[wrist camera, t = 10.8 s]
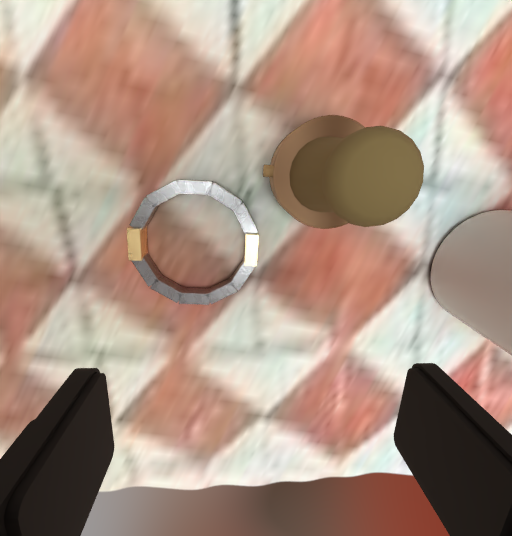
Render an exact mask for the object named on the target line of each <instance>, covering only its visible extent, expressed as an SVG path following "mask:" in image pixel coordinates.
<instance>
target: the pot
mask: <svg viewBox="0 0 512 536" xmlns="http://www.w3.org/2000/svg"><path fill="white" fill-rule="evenodd" d="M363 128H365V127H364V126H363V125H361V124H360V123H358V122H357V121H355V120H353V119H350V118H347V117H344V116H338V115H328V116H321V117H318V118H314V119H312V120H310V121H308V122H306V123H304V124H303V125H301V126H300V127H298V128H297V129H296V130H294V131H293V132H291V133H290V134H289V135H288V136H286V137H285V138H284V139H283V141H282V142H281V143H280V144H279V146H278V147H277V149H276V151H275V152H274V155H273V157H272V161H271V164H270V165H264V168H263V177H269V178H270V185H271V189H272V192H273V194H274V196H275V198H276V200H277V202H278V203H279V204H280V205H281V207H282V208H283V209H284V210H286V211H287V212H288V213H289V214H290V215H291V216H293V217H294V218H295V219H296V220H298V221H299V222H301V223H303V224H305V225H308V226H310V227H314V228H321V229H329V228H336V227H339V226H343V225H345V224H347V223H348V222H347V221H345V220H343V219H342V218H340V217H339V216H337V215H336V214H335V213H334V212H317V211H313V210H310V209H308V208H306V207H305V206H303V205H301V203H300V202H299V201H298V200H297V199H296V197H295V196H294V194H293V191H292V189H291V186H290V175H289V173H290V169H291V165H292V161H293V159H294V158H295V156H296V154H297V153H298V151H299V150H300V149H301V148H302V147H303V146H304V145H305V144H307V143H308V142H310V141H312V140H314V139H316V138H319V137H329V136H331V137H339V138H345V137H346V136H348V135H350V134H352V133H354V132H356V131H358V130H361V129H363Z"/></svg>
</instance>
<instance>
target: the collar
mask: <svg viewBox="0 0 512 536" xmlns="http://www.w3.org/2000/svg"><path fill="white" fill-rule="evenodd" d="M181 193H182V194H198V195H210V196H211V197H213V198H214V199H216V200H217V201H219V202H220V203H222V204H223V205H225V206H226V207H228V208H230V209H231V210H233V211H234V213H235V215H236V217H237V219H238V221H239V223H240V225H241V227H242V229H243V231H244V233H245V254H244V259H243V260H242V262H241V263H240V265H239V266H238V268H237V269H236V271H235V272H234V273H233V275H232V276H231V278H229V279H227V280H225V281H223V282H221V283H219V284H217V285H215V286H213V287H210V288H188V287H182V286H181V285H179V284H177V283H175V282H174V281H172V280H170V279H168V278H167V277H165V276H163V275H161V273H160V271H159V270H158V268H157V267H156V265H155V264H154V262H153V260H152V259H151V257H150V256H149V254H148V248H147V226H148V224H149V222H150V220H151V219H152V217H153V215H154V213H155V212H156V210H157V208H158V206H159V205H160V204H162V203H164V202H165V201H167V200H169V199H171V198H173V197H175V196H177V195H179V194H181ZM258 238H259V235H258V231H257V228H256V226H255V224H254V222H253V220H252V218H251V216H250V214H249V212H248V210H247V208H246V206H245V204H244V202H242V200H241V199H240V198H238V197H237V196H235V195H234V194H232V193H231V192H229V191H228V190H226V189H225V188H223V187H222V186H220V185H219V184H217V183H216V182H214V183H213V181H199V180H183V179H180V180H175V181H173V182H171V183H169V184H168V185H166V186H164V187H162V188H160V189H158V190H156V191H154V192H153V193H151V194H149V195H147V197H145V198H144V199H143V201H142V203H141V205H140V207H139V209H138V210H137V212H136V214H135V216H134V218H133V219H132V221H131V223H130V227H129V228H127V242H128V257H129V260H132V262H133V264H134V265H135V267H136V268H137V270H138V271H139V273H140V274H141V276H142V277H143V279H144V280H145V282H146V283H147V285H148V286H151V285H152V286H151V289H153V290H155V291H156V292H158V293H160V294H162V295H164V296H165V297H167V298H169V299H171V300H173V301H174V302H176V303H178V301H179V304H205V305H209V303H211V304H213V303H215V302H217V301H219V300H221V299H223V298H225V297H227V296H229V295H231V294H233V293H236V292H238V290H240V288H241V287H242V285H243V284H244V282H245V281H246V279H247V278H248V277H249V275H250V274H251V272H252V271H253V269H254V268H255V266H257V253H258Z"/></svg>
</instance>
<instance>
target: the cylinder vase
mask: <svg viewBox="0 0 512 536" xmlns="http://www.w3.org/2000/svg"><path fill="white" fill-rule="evenodd" d="M431 286H432V290H433V293H434V295H435V298H436V299H437V301H438V302H439V304H440V305H441V306H442V307H443V308H444V309H445V310H446V311H447V312H449V313H450V314H452V315H453V316H455V317H456V318H458V319H459V320H460V321H462V322H463V323H465V324H466V325H468V326H469V327H471V328H472V329H474V330H475V331H477V332H478V333H480V334H481V335H483V336H484V337H485V338H487V339H488V340H490V341H491V342H493V343H494V344H496V345H497V346H499V347H500V348H502V349H503V350H505V351H506V352H508V353H509V354H511V355H512V211H511V210H494V211H488V212H484V213H481V214H478V215H476V216H474V217H471V218H469V219H468V220H466V221H464V222H463V223H461V224H460V225H459V226H457V227H456V228H455V229H454V230H453V231H452V232H451V233H450V234H449V235H448V236H447V237H446V238H445V239H444V241H443V242H442V244H441V245H440V247H439V249H438V250H437V252H436V255H435V257H434V260H433V263H432V268H431Z"/></svg>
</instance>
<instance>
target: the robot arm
mask: <svg viewBox="0 0 512 536" xmlns="http://www.w3.org/2000/svg"><path fill="white" fill-rule="evenodd" d="M394 441H395V445H396V447H397V449H398V451H399V452H400V454H401V456H402V457H403V459H404V461H405V462H406V464H407V465H408V467H409V469H410V470H411V472H412V474H413V475H414V477H415V479H416V480H417V482H418V484H419V485H420V487H421V488H422V490H423V492H424V494H425V495H426V497H427V498H428V500H429V502H430V503H431V505H432V507H433V508H434V510H435V512H436V513H437V515H438V516H439V518H440V520H441V522H442V523H443V525H444V526H445V528H446V530H447V531H448V533H449V535H450V536H512V435H511V434H510V433H509V432H508V431H507V430H506V429H505V428H504V427H503V426H502V425H501V424H499V423H498V422H497V421H496V420H495V419H494V418H493V417H492V416H491V415H490V414H489V413H488V412H487V411H486V410H484V409H483V408H482V407H481V406H480V405H479V404H478V403H477V402H476V401H475V400H474V399H473V398H472V397H471V396H469V395H468V394H467V393H466V392H465V391H464V390H463V389H462V388H461V387H460V386H459V385H458V384H457V383H456V382H454V381H453V380H452V379H451V378H450V377H449V376H448V375H447V374H446V373H445V372H444V371H443V370H442V369H441V368H439V367H438V366H437V365H436V364H433V363H416V364H414V365H413V366H412V368H410V369H409V370H408V372H407V376H406V381H405V386H404V390H403V395H402V399H401V404H400V409H399V413H398V418H397V422H396V427H395V432H394ZM113 452H114V439H113V431H112V423H111V415H110V407H109V399H108V391H107V383H106V376H105V374H104V373H100V371H99V370H98V369H97V368H77V369H75V370H74V371H73V372H72V373H71V375H70V376H69V377H68V378H67V380H66V381H65V382H64V383H63V385H62V386H61V387H60V389H59V390H58V391H57V392H56V394H55V395H54V396H53V397H52V399H51V400H50V401H49V403H48V404H47V405H46V406H45V408H44V409H43V410H42V411H41V413H40V414H39V415H38V417H37V418H36V419H35V420H33V421H31V422H30V423H29V424H28V425H27V426H26V428H25V429H24V430H23V431H22V433H21V434H20V435H19V436H18V438H17V439H16V440H15V441H14V443H13V444H12V445H11V446H10V448H9V449H8V450H7V451H6V453H5V454H4V455H3V456H2V458H1V459H0V536H80V535H81V533H82V530H83V528H84V526H85V523H86V521H87V518H88V516H89V513H90V511H91V509H92V506H93V504H94V501H95V499H96V496H97V494H98V491H99V489H100V487H101V484H102V482H103V479H104V477H105V474H106V472H107V469H108V467H109V465H110V462H111V460H112V457H113Z"/></svg>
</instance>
